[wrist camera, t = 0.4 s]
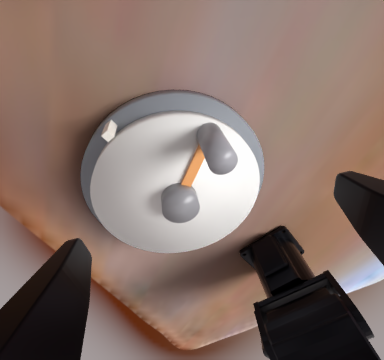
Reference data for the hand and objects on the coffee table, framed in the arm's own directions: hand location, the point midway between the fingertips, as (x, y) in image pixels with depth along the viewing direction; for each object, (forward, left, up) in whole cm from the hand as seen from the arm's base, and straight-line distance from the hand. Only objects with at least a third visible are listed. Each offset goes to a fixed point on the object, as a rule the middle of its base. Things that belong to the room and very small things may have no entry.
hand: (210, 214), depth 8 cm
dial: (-5, +4, -11) cm, 13 cm away
